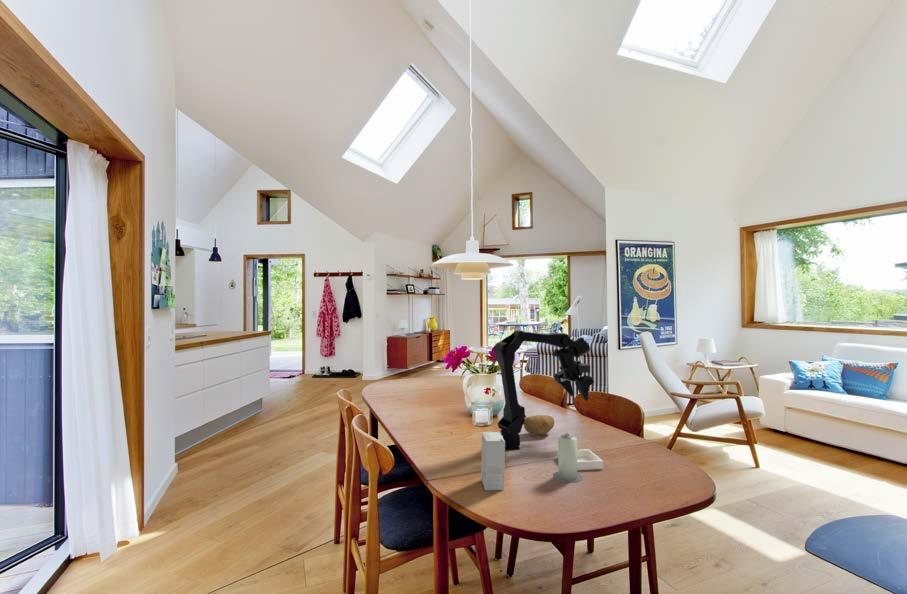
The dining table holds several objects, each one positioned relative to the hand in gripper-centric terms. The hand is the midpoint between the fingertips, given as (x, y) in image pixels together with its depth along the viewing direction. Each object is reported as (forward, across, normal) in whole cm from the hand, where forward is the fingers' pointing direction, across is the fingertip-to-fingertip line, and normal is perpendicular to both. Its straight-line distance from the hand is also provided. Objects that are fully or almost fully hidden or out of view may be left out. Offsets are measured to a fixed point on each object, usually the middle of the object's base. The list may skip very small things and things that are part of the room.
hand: (579, 398), depth 179 cm
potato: (+10, +9, +18) cm, 23 cm away
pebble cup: (+4, -33, +33) cm, 47 cm away
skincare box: (-4, -28, +55) cm, 62 cm away
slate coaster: (+4, -33, +33) cm, 47 cm away
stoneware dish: (+8, -25, +23) cm, 35 cm away
